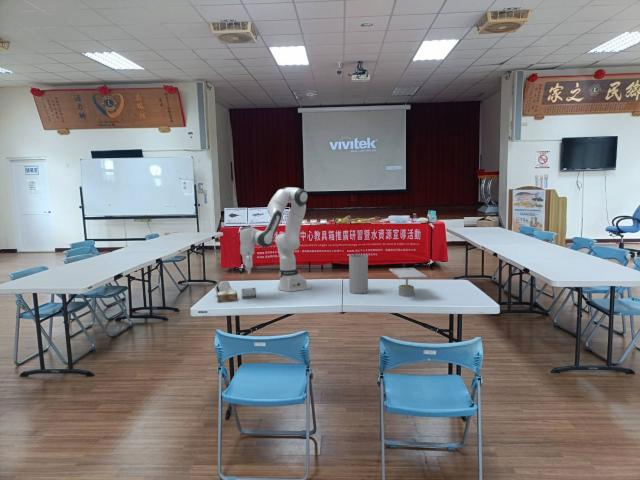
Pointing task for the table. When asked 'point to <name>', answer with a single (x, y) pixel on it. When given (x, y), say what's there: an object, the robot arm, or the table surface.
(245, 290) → the block
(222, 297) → the stand
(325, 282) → the table surface
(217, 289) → the hinge
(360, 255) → the cylinder vase
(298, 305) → the table surface
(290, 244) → the robot arm
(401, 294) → the solar panel model
